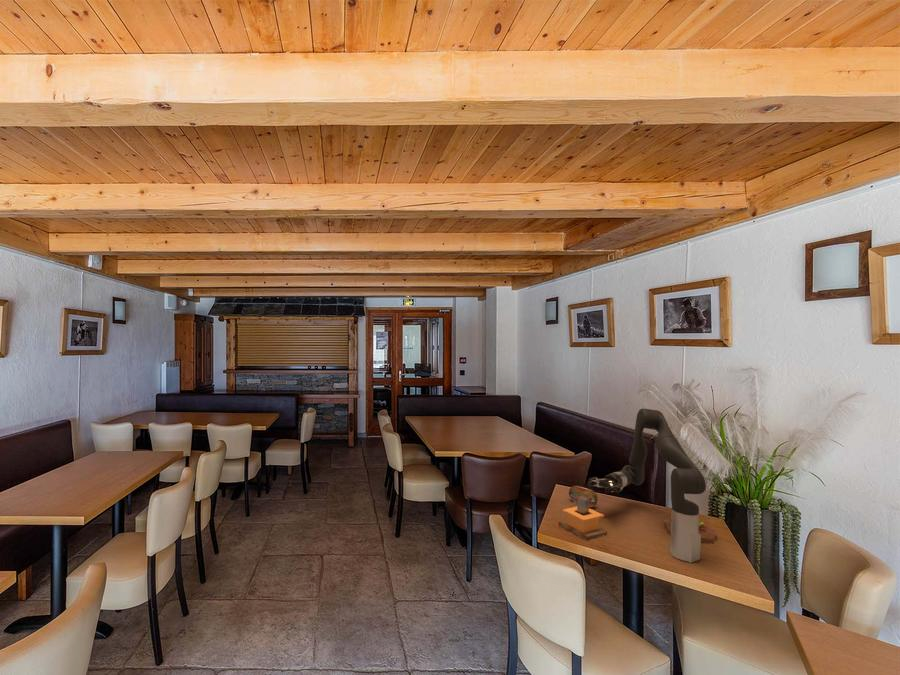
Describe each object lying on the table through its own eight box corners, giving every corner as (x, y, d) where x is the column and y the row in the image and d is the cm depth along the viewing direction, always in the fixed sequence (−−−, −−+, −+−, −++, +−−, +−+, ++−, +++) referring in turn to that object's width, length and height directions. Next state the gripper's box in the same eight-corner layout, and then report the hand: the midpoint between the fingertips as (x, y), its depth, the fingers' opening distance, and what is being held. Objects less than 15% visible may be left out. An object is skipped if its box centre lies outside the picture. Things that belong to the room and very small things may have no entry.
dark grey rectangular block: (588, 526, 185) (589, 498, 186) (584, 528, 183) (585, 500, 183) (580, 523, 188) (581, 496, 188) (576, 525, 185) (577, 498, 186)
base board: (607, 534, 181) (607, 530, 182) (587, 540, 175) (587, 536, 176) (578, 520, 195) (578, 516, 195) (558, 525, 189) (559, 521, 189)
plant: (723, 547, 174) (724, 520, 174) (670, 539, 180) (670, 512, 180) (709, 527, 193) (709, 502, 193) (661, 521, 199) (662, 496, 199)
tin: (568, 500, 220) (568, 484, 220) (571, 499, 222) (572, 483, 222) (594, 510, 208) (595, 492, 208) (598, 508, 210) (598, 491, 210)
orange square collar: (603, 529, 183) (603, 514, 183) (583, 534, 177) (583, 519, 177) (581, 518, 194) (582, 505, 194) (562, 523, 188) (562, 509, 188)
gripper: (602, 469, 208) (583, 475, 198) (630, 477, 197) (612, 483, 187) (601, 484, 208) (582, 491, 198) (629, 493, 197) (611, 501, 187)
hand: (596, 487), depth 192 cm, fingers open, 8 cm apart
